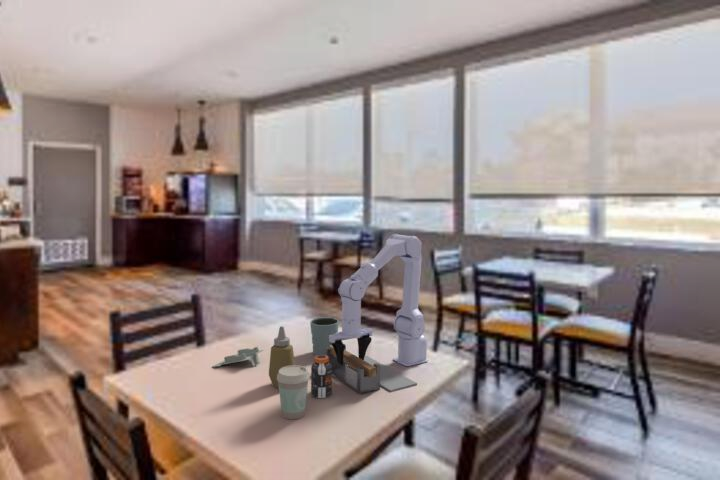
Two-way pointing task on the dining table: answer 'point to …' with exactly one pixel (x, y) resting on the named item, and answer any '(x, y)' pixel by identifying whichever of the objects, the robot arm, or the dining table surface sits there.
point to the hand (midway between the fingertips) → (350, 361)
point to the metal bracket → (242, 357)
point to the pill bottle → (321, 377)
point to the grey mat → (390, 377)
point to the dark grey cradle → (354, 375)
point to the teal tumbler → (322, 333)
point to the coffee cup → (293, 390)
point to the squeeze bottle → (280, 356)
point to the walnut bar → (356, 362)
